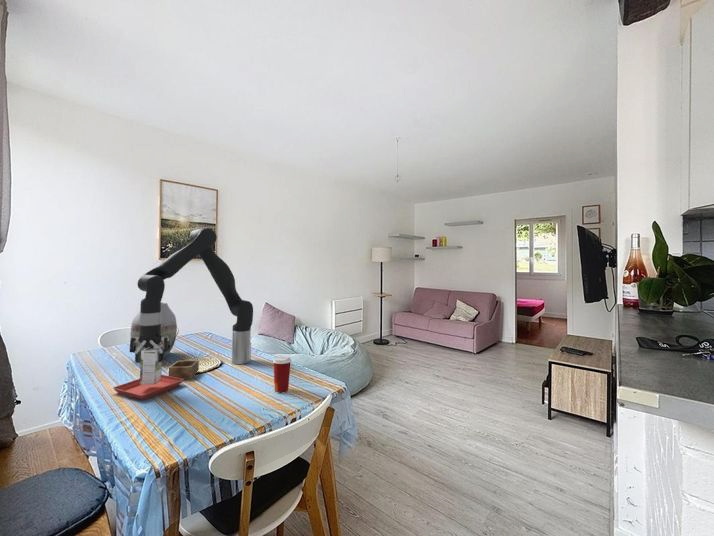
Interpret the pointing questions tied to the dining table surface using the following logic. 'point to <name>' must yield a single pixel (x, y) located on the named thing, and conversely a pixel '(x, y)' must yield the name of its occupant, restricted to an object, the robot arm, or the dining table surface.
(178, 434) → the dining table surface
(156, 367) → the syrup box
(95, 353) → the dining table surface
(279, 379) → the paper cup
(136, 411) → the dining table surface
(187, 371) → the holder
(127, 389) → the plant saucer
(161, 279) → the robot arm
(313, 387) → the dining table surface
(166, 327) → the vase
